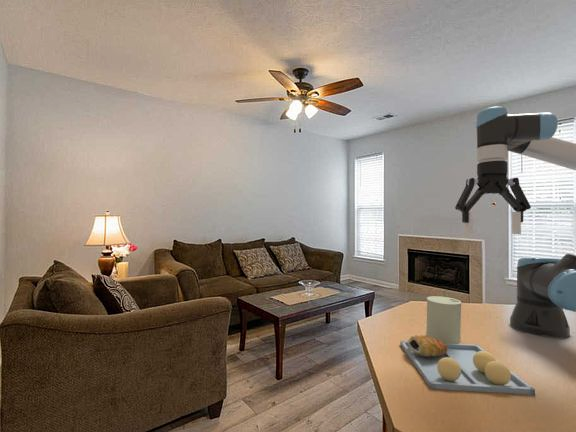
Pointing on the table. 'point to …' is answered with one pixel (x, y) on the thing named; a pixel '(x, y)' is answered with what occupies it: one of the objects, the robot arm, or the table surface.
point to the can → (444, 319)
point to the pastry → (427, 346)
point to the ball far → (449, 369)
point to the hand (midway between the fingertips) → (492, 234)
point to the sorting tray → (463, 372)
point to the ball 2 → (497, 373)
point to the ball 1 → (482, 360)
